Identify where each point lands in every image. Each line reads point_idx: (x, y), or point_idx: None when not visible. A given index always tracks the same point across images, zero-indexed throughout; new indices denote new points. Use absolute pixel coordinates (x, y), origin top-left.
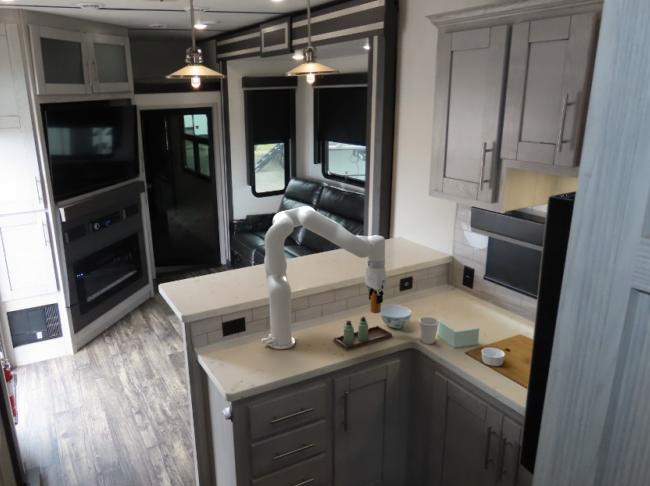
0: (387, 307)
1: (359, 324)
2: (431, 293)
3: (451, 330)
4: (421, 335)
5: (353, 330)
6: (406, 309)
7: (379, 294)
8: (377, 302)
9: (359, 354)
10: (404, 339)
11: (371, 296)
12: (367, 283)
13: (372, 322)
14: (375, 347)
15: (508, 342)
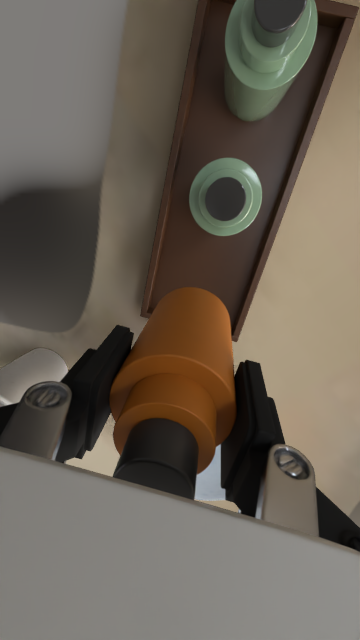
0: None
1: (236, 165)
2: None
3: None
4: (40, 363)
5: (226, 64)
6: None
7: (24, 402)
8: (113, 334)
9: (127, 26)
10: (103, 327)
11: (203, 373)
12: (341, 633)
13: (293, 371)
14: (128, 175)
15: None
